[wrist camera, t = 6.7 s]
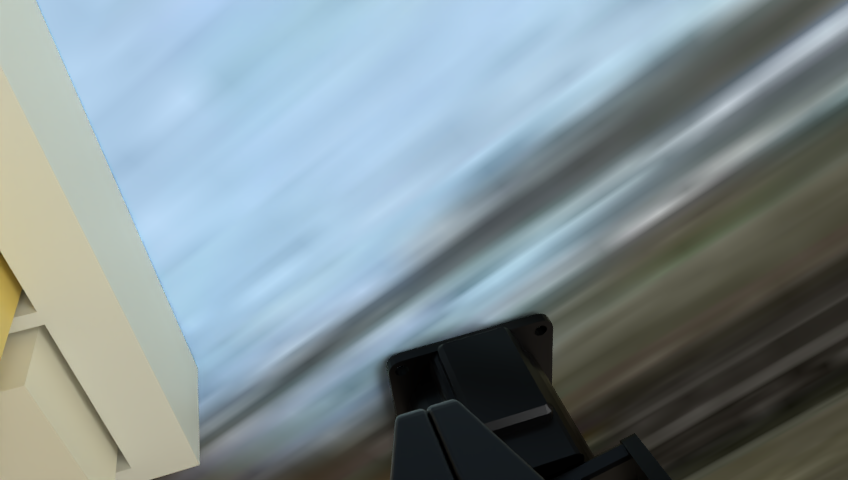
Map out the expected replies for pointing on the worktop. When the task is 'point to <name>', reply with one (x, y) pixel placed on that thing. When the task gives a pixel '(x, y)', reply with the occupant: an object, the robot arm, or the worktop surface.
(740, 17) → the worktop surface
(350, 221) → the worktop surface
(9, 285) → the mustard tile
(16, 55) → the panel
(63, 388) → the cream tile
